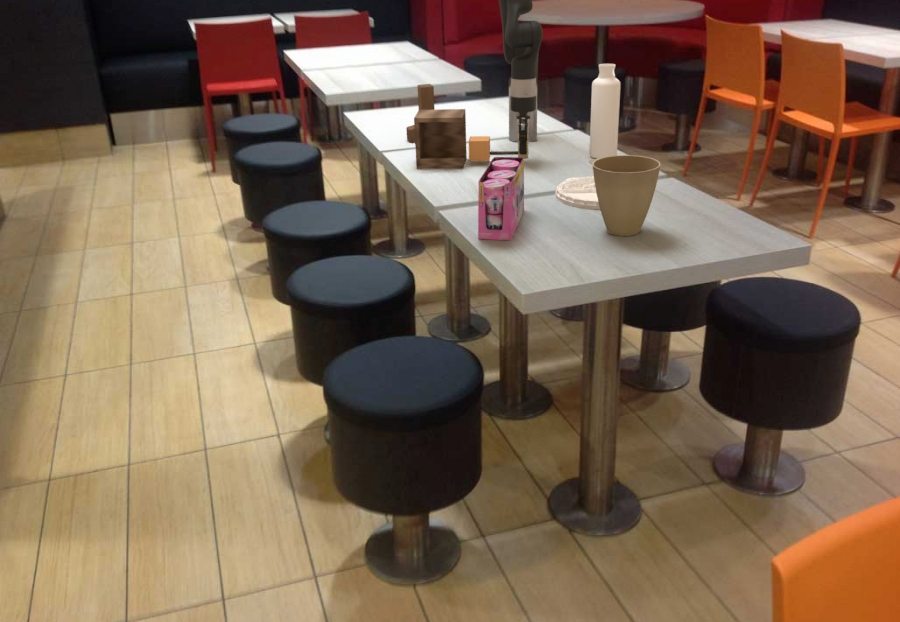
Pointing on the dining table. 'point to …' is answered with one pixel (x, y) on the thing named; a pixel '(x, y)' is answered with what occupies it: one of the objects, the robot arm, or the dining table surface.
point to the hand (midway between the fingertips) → (523, 152)
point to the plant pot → (625, 191)
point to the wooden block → (422, 106)
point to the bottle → (604, 114)
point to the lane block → (488, 149)
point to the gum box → (501, 198)
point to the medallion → (578, 193)
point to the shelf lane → (440, 139)
